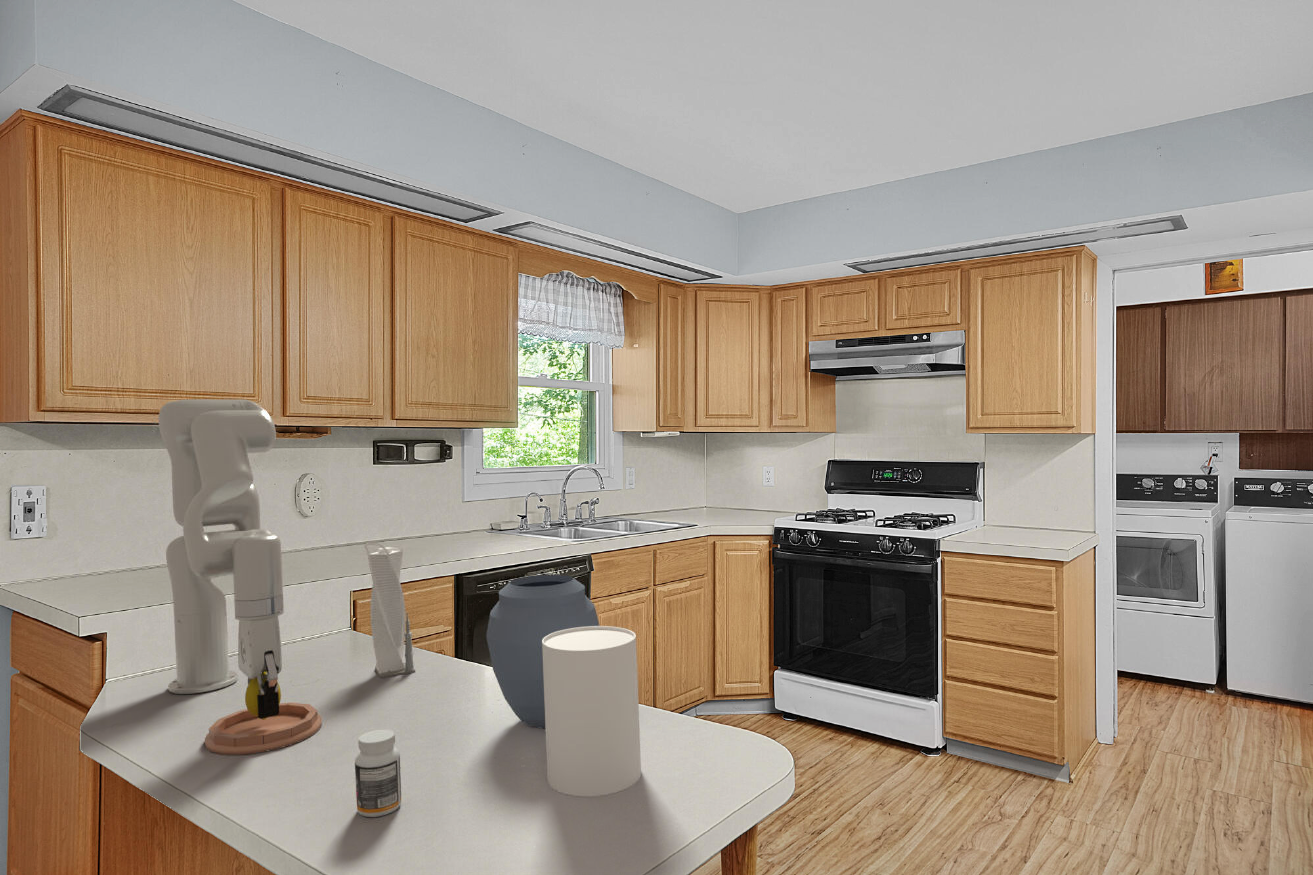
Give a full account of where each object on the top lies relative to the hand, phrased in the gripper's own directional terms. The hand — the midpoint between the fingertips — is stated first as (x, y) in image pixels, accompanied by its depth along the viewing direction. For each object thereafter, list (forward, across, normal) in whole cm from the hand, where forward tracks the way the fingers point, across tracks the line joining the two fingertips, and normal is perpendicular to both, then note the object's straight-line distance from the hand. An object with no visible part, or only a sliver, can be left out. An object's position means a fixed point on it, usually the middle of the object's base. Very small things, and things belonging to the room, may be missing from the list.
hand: (263, 710), depth 138 cm
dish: (+4, 0, 0) cm, 4 cm away
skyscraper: (+4, -20, +30) cm, 36 cm away
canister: (+4, +54, +31) cm, 63 cm away
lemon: (+2, 0, 0) cm, 2 cm away
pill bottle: (+4, +42, +4) cm, 43 cm away
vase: (+4, +30, +38) cm, 49 cm away
